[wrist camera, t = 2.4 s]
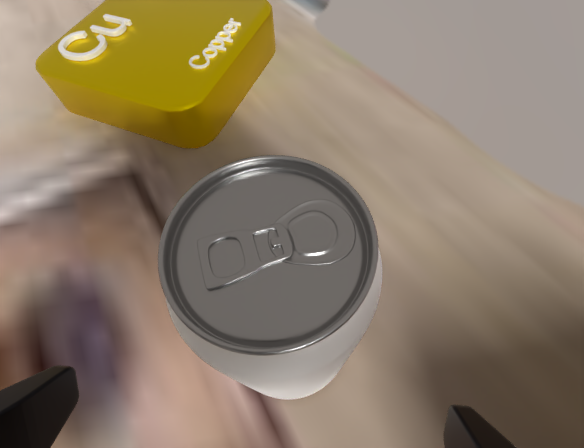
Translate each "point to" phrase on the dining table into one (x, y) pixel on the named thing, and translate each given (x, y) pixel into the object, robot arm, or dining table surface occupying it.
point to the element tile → (162, 65)
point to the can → (272, 272)
